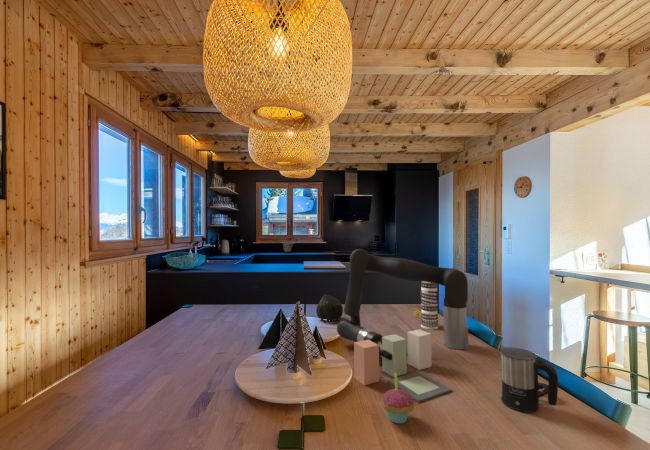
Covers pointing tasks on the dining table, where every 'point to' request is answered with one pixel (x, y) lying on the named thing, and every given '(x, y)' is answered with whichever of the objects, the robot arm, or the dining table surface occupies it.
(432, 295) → the decorative candle
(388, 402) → the cupcake
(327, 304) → the squash
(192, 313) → the dining table surface
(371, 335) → the robot arm
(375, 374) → the terracotta block
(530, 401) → the milk frother
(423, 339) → the cream block
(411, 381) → the slate mat
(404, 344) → the sage block
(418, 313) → the bread roll
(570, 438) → the dining table surface
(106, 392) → the dining table surface
